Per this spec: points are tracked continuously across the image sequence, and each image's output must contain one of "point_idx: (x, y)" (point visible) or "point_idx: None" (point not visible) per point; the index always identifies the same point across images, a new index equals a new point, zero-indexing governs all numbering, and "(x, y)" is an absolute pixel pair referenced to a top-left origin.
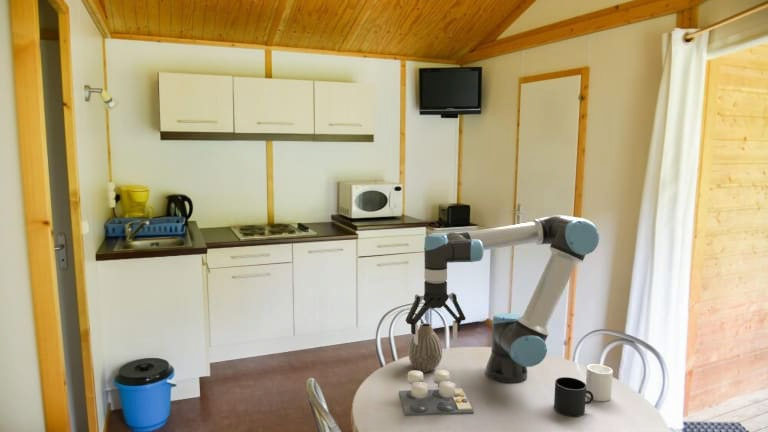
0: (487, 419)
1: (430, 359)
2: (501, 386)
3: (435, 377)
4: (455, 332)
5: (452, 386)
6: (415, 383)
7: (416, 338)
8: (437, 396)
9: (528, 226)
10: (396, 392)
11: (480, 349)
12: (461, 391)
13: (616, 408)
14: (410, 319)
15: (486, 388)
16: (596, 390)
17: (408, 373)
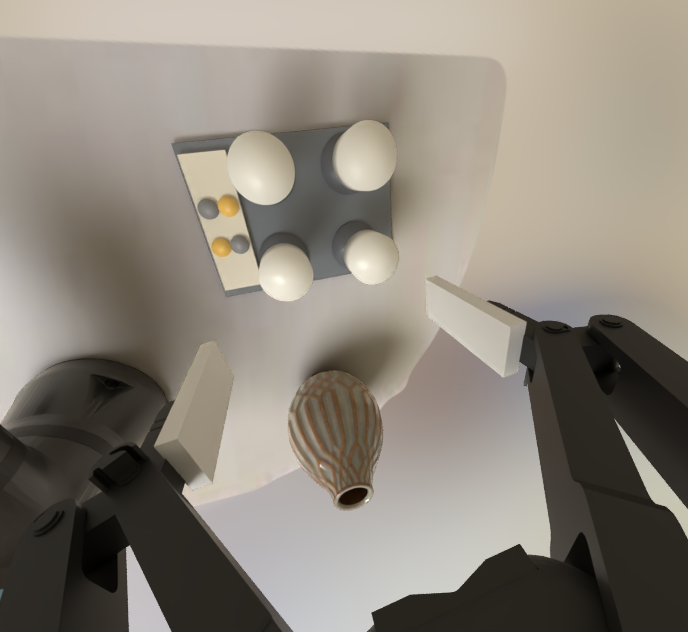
0: (113, 95)
1: (320, 385)
2: (105, 335)
3: (307, 258)
4: (198, 378)
5: (238, 151)
6: (381, 175)
7: (453, 288)
8: (295, 237)
9: None
10: None
11: (197, 498)
12: (224, 271)
13: None
14: (628, 339)
15: (152, 317)
16: None
17: (397, 257)
